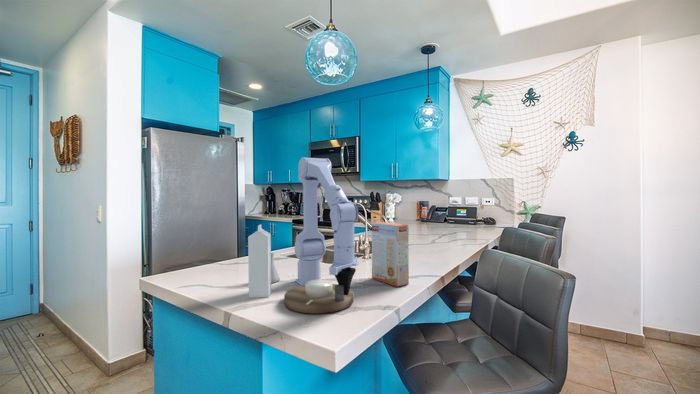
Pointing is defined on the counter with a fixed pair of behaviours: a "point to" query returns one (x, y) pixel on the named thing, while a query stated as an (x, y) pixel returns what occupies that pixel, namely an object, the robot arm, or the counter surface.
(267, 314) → the counter surface
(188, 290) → the counter surface
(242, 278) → the counter surface
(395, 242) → the cracker box
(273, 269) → the flask
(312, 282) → the dish
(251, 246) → the milk
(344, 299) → the turntable
